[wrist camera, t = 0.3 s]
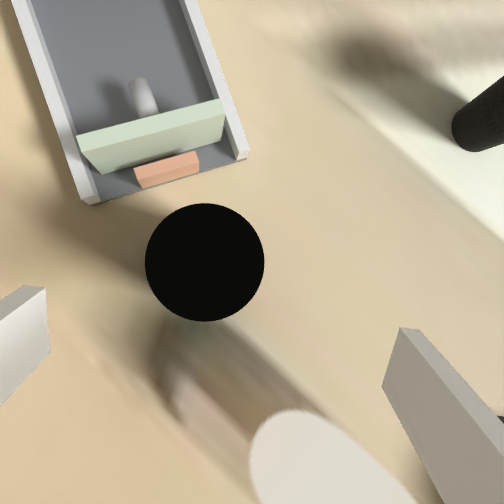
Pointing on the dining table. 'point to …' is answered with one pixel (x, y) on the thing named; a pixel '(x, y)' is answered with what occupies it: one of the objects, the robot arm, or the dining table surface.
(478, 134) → the drinking cup
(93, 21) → the pusher lane
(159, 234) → the supplement container
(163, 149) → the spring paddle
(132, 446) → the dining table surface
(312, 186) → the dining table surface
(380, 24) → the dining table surface
